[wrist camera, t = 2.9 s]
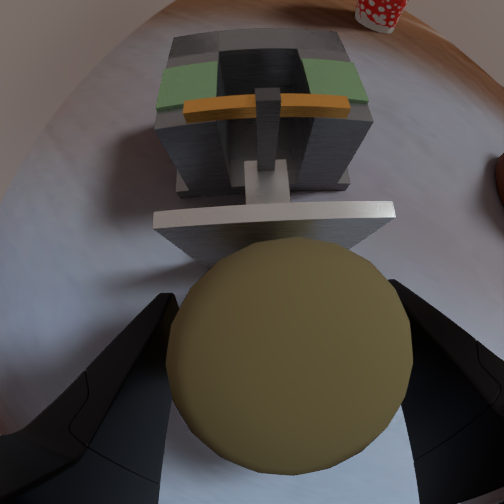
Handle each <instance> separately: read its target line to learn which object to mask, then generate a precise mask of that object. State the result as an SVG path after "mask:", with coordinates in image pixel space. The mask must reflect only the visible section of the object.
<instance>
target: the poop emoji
mask: <svg viewBox="0 0 504 504" xmlns="http://www.w3.org/2000/svg"><path fill="white" fill-rule="evenodd" d="M496 183H497V188H498V192H499V195H500V198H501V201H502V203H503V205H504V153H503V154H502V155H501V156H500V157H499V159H498V161H497V164H496Z"/></svg>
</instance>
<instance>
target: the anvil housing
mask: <svg viewBox="0 0 504 504" xmlns="http://www.w3.org/2000/svg"><path fill="white" fill-rule="evenodd" d="M255 88H280V93H292V94H324V95H339V96H347V98H348V101H349V104H350V107H351V109H350V112H349V114H348V116H347V119H345V118H326V117H280V120H279V131H278V141H277V151H276V160H282V159H286V164H287V173H288V182H289V191H316V190H346V189H347V188H348V186H349V185H350V179H349V174H348V169H347V167H348V165H349V163H350V162H351V160H352V158H353V156H354V155H355V153H356V151H357V150H358V148H359V146H360V144H361V143H362V141H363V139H364V137H365V136H366V134H367V132H368V130H369V129H370V127H371V125H372V123H373V119H372V116H371V113H370V110H369V107H368V102H369V100H368V97H367V95H366V92H365V90H364V87H363V85H362V82H361V80H360V77H359V75H358V72H357V70H356V68H355V65H354V63H352V62H350V59H349V57H348V55H347V53H346V51H345V48H344V46H343V44H342V42H341V40H340V38H339V36H338V34H337V32H332V31H322V30H310V29H291V28H255V29H236V30H224V31H214V32H206V33H199V34H192V35H186V36H180V37H175V38H174V39H173V43H172V46H171V50H170V54H169V58H168V62H167V66H166V69H164V71H163V76H162V80H161V84H160V89H159V94H158V99H157V104H156V110H157V115H156V120H155V126H154V131H155V132H156V134H157V136H158V138H159V139H160V141H161V143H162V145H163V146H164V148H165V150H166V151H167V153H168V155H169V157H170V158H171V160H172V162H173V164H174V165H175V167H176V169H177V178H176V193H177V194H178V196H179V197H180V198H187V197H198V196H211V195H224V194H240V193H246V192H245V169H244V161H256V160H257V150H256V118H242V119H228V120H216V121H207V122H198V123H190V124H187V123H186V121H185V118H184V116H183V107H184V101H187V100H195V99H203V98H211V97H221V96H233V95H248V94H255Z"/></svg>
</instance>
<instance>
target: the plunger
mask: <svg viewBox="0 0 504 504" xmlns="http://www.w3.org/2000/svg"><path fill="white" fill-rule="evenodd" d="M350 109H351V107H350V104H349V101H348V98H347V96H339V95H324V94H292V93H280V88H255V94H248V95H233V96H221V97H211V98H203V99H195V100H187V101H184V107H183V116H184V118H185V121H186V123H187V124H190V123H198V122H207V121H216V120H228V119H242V118H256V150H257V160H256V161H244V169H245V192H246V205H233V206H218V207H204V208H191V209H179V210H168V211H158V212H154V216H153V229H154V230H155V231H157V232H158V233H159V234H161V235H162V236H163V237H165V238H166V239H167V240H169V241H170V242H171V243H173V244H174V245H175V246H177V247H178V248H179V249H181V250H182V251H183V252H185V253H186V254H187V255H189V256H190V257H191V258H193V259H194V260H196V261H197V262H198V263H200V264H201V265H202V266H204V267H213V266H214V265H215V264H216V263H217V262H218V261H219V260H221V259H223V258H225V257H227V256H229V255H231V254H233V253H235V252H237V251H239V250H241V249H243V248H245V247H247V246H249V245H251V244H253V243H256V242H263V241H270V240H276V239H283V238H290V237H302V238H308V239H314V240H320V241H325V242H331V243H337V244H338V245H340V246H342V247H344V248H346V249H348V250H349V249H350V248H352V247H353V246H355V245H356V244H358V243H359V242H361V241H362V240H364V239H365V238H367V237H368V236H369V235H371V234H372V233H374V232H375V231H377V230H378V229H380V228H381V227H383V226H384V225H385V224H387V223H388V222H390V221H391V220H392V219H394V218H395V211H394V206H393V201H333V202H294V203H291V201H290V191H289V182H288V173H287V164H286V159H282V160H276V151H277V141H278V131H279V120H280V117H326V118H345V119H347V116H348V114H349V112H350Z"/></svg>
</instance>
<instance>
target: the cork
mask: <svg viewBox="0 0 504 504" xmlns="http://www.w3.org/2000/svg"><path fill="white" fill-rule="evenodd" d="M412 365H413V353H412V341H411V330H410V321H409V319H408V317H407V314H406V312H405V310H404V307H403V305H402V303H401V301H400V298H399V296H398V294H397V292H396V290H395V288H394V287H393V286H392V285H391V284H390V282H389V281H388V280H387V279H386V278H385V277H384V276H383V275H382V274H381V273H380V272H379V271H378V269H377V268H376V267H375V266H374V265H373V264H372V263H371V262H370V261H368V260H366V259H365V258H363V257H361V256H359V255H357V254H355V253H353V252H352V251H350V250H348V249H346V248H344V247H342V246H340V245H338V244H337V243H331V242H325V241H320V240H314V239H308V238H302V237H290V238H283V239H276V240H270V241H263V242H256V243H253V244H251V245H249V246H247V247H245V248H243V249H241V250H239V251H237V252H235V253H233V254H231V255H229V256H227V257H225V258H223V259H221V260H219V261H218V262H217V263H216V264H215V265H214V266H213V267H212V268H211V269H210V270H209V271H208V272H207V273H206V274H205V275H204V276H202V277H201V278H200V279H199V280H198V281H197V282H196V283H195V284H194V285H193V286H192V287H191V288H190V290H189V292H188V294H187V296H186V298H185V299H184V301H183V303H182V305H181V307H180V309H179V311H178V313H177V315H176V317H175V319H174V321H173V323H172V324H171V329H170V336H169V342H168V349H167V356H166V369H167V374H168V380H169V385H170V390H171V395H172V399H173V402H174V403H175V405H176V407H177V409H178V410H179V412H180V414H181V416H182V417H183V419H184V421H185V422H186V424H187V426H188V427H189V429H190V430H191V432H192V433H193V434H194V435H195V436H196V437H198V438H199V439H200V440H201V441H202V442H203V443H204V444H206V445H207V446H208V447H209V448H210V449H212V450H213V451H214V452H215V453H216V454H218V455H219V456H220V457H222V458H224V459H226V460H228V461H230V462H233V463H235V464H237V465H240V466H242V467H245V468H247V469H250V470H253V471H255V472H258V473H267V474H278V475H293V476H294V475H300V474H305V473H310V472H315V471H320V470H324V469H329V468H331V467H333V466H335V465H337V464H339V463H341V462H343V461H345V460H347V459H349V458H351V457H353V456H354V455H356V454H358V453H360V452H361V451H363V450H364V449H365V448H366V447H367V446H368V445H369V444H370V443H371V442H372V441H374V440H375V439H376V438H377V437H378V436H379V435H380V434H381V433H382V432H383V431H384V430H385V429H386V428H387V427H388V425H389V423H390V422H391V420H392V419H393V417H394V415H395V413H396V412H397V410H398V408H399V407H400V405H401V403H402V401H403V399H404V398H405V395H406V391H407V387H408V383H409V379H410V374H411V370H412Z"/></svg>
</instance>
